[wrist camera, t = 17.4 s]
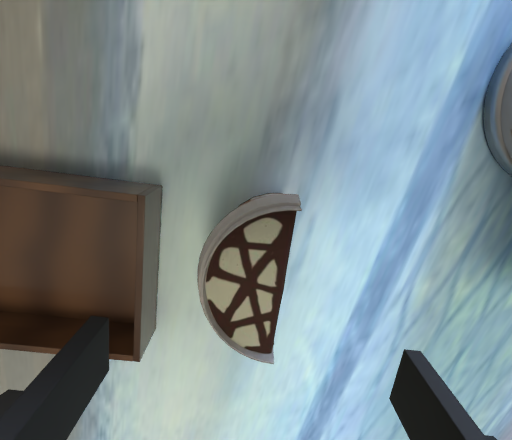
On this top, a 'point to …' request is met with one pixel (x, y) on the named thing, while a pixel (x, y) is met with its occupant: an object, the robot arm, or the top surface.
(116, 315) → the wooden tray
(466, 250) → the top surface
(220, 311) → the food container
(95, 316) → the robot arm
